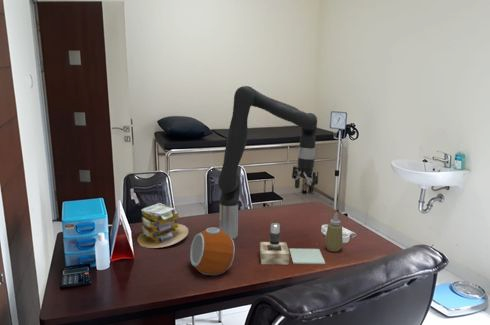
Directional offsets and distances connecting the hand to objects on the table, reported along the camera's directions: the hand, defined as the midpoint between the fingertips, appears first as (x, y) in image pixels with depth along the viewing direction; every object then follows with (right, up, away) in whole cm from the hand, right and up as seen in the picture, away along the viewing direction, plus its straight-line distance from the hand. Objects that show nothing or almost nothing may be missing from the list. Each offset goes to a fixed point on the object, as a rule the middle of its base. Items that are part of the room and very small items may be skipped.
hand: (303, 190), depth 186 cm
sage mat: (0, -30, -7) cm, 30 cm away
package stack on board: (-68, -25, +9) cm, 73 cm away
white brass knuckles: (+20, -25, +18) cm, 37 cm away
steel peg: (-15, -30, -9) cm, 34 cm away
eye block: (-15, -30, -9) cm, 34 cm away
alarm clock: (-42, -32, -20) cm, 56 cm away
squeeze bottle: (+14, -28, +1) cm, 32 cm away
